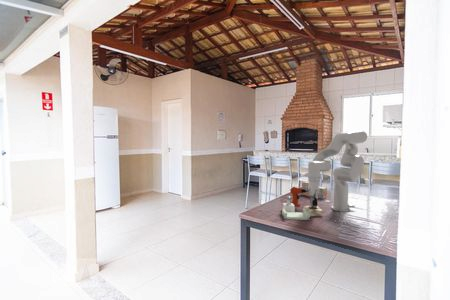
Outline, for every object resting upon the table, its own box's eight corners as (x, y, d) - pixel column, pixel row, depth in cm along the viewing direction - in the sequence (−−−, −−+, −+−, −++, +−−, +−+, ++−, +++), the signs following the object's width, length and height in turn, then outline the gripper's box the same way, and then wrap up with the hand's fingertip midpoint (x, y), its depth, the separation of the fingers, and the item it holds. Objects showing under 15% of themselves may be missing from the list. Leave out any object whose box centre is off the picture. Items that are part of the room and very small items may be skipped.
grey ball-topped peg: (291, 209, 167) (291, 195, 167) (292, 211, 163) (292, 197, 162) (284, 209, 168) (285, 195, 167) (286, 210, 163) (286, 197, 163)
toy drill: (312, 208, 168) (310, 187, 169) (289, 205, 182) (288, 187, 183) (315, 206, 171) (313, 187, 172) (293, 204, 185) (291, 186, 186)
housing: (292, 209, 169) (292, 203, 168) (294, 212, 162) (294, 205, 161) (282, 209, 169) (282, 202, 169) (284, 212, 162) (284, 205, 162)
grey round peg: (315, 211, 162) (315, 196, 162) (317, 213, 158) (317, 197, 158) (309, 211, 163) (309, 196, 162) (311, 213, 159) (311, 197, 158)
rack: (305, 214, 158) (305, 209, 157) (309, 219, 148) (309, 213, 148) (281, 214, 159) (282, 208, 159) (284, 219, 149) (284, 213, 149)
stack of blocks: (326, 198, 204) (327, 184, 203) (323, 199, 200) (323, 185, 199) (304, 193, 220) (305, 180, 219) (301, 194, 216) (301, 181, 215)
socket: (317, 211, 165) (317, 206, 165) (322, 216, 155) (322, 210, 155) (303, 211, 166) (303, 205, 165) (307, 215, 156) (307, 210, 155)
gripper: (305, 176, 168) (304, 201, 169) (312, 181, 151) (311, 208, 152) (315, 176, 167) (315, 201, 168) (323, 181, 150) (323, 208, 152)
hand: (313, 204), depth 160 cm, fingers closed on grey round peg, 4 cm apart
